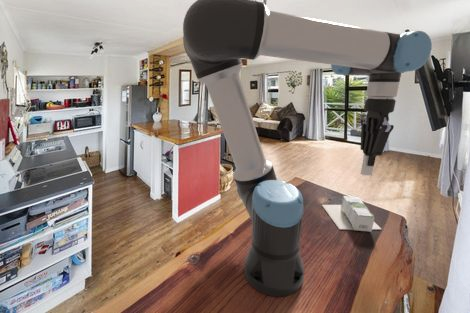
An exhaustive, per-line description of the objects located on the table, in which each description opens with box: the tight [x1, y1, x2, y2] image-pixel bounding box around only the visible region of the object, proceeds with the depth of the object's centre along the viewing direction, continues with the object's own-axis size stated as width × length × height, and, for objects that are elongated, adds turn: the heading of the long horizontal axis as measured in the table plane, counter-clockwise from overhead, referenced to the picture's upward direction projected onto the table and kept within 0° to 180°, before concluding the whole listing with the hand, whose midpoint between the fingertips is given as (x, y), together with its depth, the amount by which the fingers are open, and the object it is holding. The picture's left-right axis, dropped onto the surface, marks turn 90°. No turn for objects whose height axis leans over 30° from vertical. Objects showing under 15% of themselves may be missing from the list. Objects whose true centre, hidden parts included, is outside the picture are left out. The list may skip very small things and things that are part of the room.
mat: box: [321, 204, 382, 231], centre depth 86 cm, size 14×16×1 cm
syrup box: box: [340, 195, 375, 233], centre depth 83 cm, size 6×6×14 cm
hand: (366, 174), depth 74 cm, fingers closed
